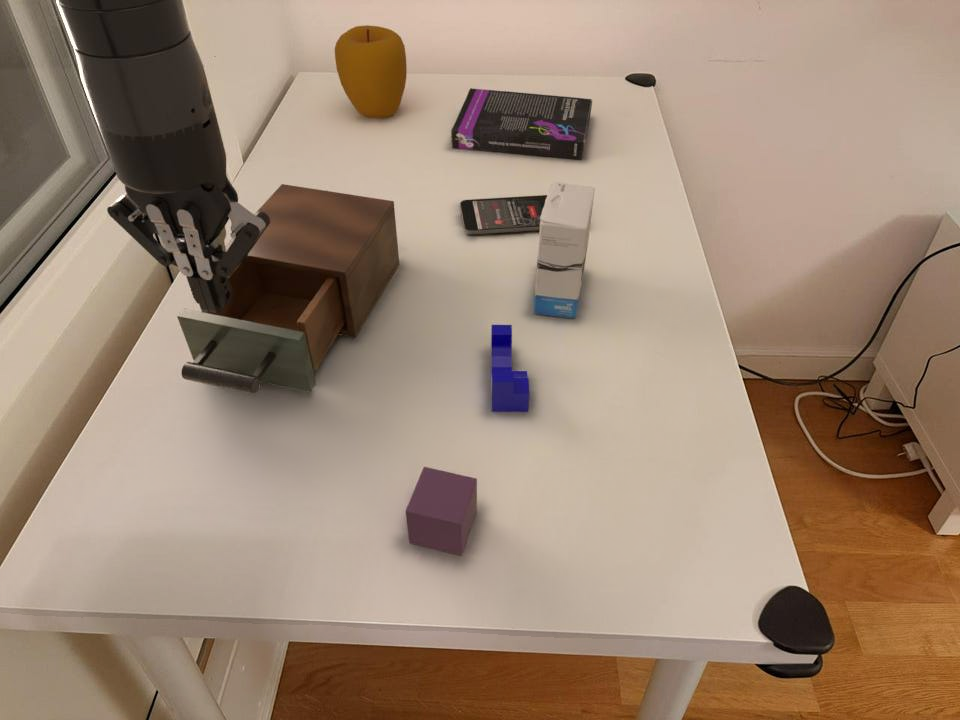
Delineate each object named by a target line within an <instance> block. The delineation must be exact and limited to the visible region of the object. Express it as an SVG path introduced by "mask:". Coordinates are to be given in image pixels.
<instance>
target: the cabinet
mask: <svg viewBox="0 0 960 720" xmlns="http://www.w3.org/2000/svg"><path fill="white" fill-rule="evenodd" d="M260 211H261V212H264V213H266V214H267V215H268V216H269V218H270V224H269V225H268V227H267V228H266V229H265V231H264V232H263V234H262V235H261V237H260V238H259V239H258V241H257V242H256V244H255V245H254V246H253V248H252V249H251V251H250V252H249V254H248V255H247V256H246V258H245V259H244V260H243V261H249V262H254V263H260V264H266V265H271V266H277V267H283V268H288V269H294V270H300V271H305V272H311V273H316V274H322V275H328V276H333V277H339V279H340V285H341V291H342V297H343V303H344V310H345V316H346V322H345V324H344V325H343V327H342V329H341V330H340V332H339V333H338V336H344V337H350V338H354V339H356V338H357V336H358V335H359V333H360V332H361V329H362V328H363V326H364V324H366V322H367V319H368V318H369V316H370V314H371V313H372V311H373V309H374V308H375V306H376V304H377V303H378V301H379V299H381V296H382V294H383V293H384V291H385V289H386V287H388V284H389V283H390V281H391V280H392V277H394V274H395V273H396V271H397V270H398V268H399V266H400V255H399V254H400V253H399V243H398V233H397V232H398V231H397V221H396V211H395V201H394V200H388V199H384V198H383V199H382V198H375V197H371V196H370V197H369V196H363V195H356V194H350V193H343V192H338V191H337V192H336V191H331V190H323V189H318V188H310V187H303V186H298V185H297V186H296V185H290V184H285V183H281V184H280V185H279V187H278V188H277V189H275V191H274V192H273V193H272V194H271V195H270V197H268V199H267V200H265V202H264V203H263V204H262V205H261V206H260V207H259V208H258V209H257V211H255V213H253V214H254V215H255V214H256V213H257V212H260ZM234 240H235V239H233V238H232V237H231V239H230V240H229V241H228V242H227V243H226V244H225V248H226V251H227V250H228V249H229V247H230V246H231V244H232V243H233V241H234Z"/></svg>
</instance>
